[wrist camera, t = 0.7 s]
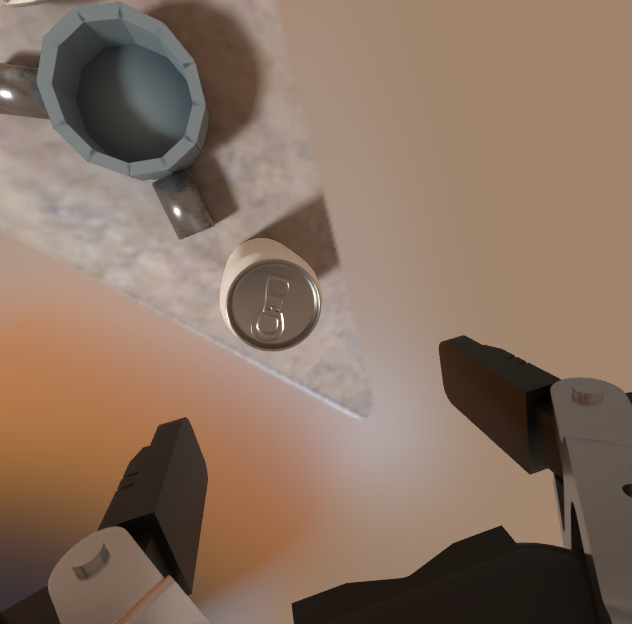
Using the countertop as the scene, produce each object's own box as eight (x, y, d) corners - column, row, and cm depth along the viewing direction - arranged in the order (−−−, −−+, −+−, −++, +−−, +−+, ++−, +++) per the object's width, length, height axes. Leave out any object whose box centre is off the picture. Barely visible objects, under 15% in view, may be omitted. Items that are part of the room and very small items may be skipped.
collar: (99, 189, 28) (74, 185, 24) (49, 47, 25) (10, 13, 21) (222, 168, 29) (219, 160, 25) (188, 30, 26) (178, -4, 22)
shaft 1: (65, 79, 26) (43, 62, 23) (69, 125, 26) (48, 114, 24) (-7, 69, 25) (-39, 50, 22) (-1, 117, 25) (-31, 105, 23)
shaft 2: (156, 186, 29) (147, 183, 26) (192, 173, 29) (187, 168, 26) (182, 238, 30) (176, 241, 27) (215, 225, 30) (213, 226, 27)
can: (218, 299, 32) (207, 347, 21) (234, 228, 31) (231, 238, 19) (287, 314, 34) (312, 366, 22) (305, 247, 32) (341, 267, 21)
